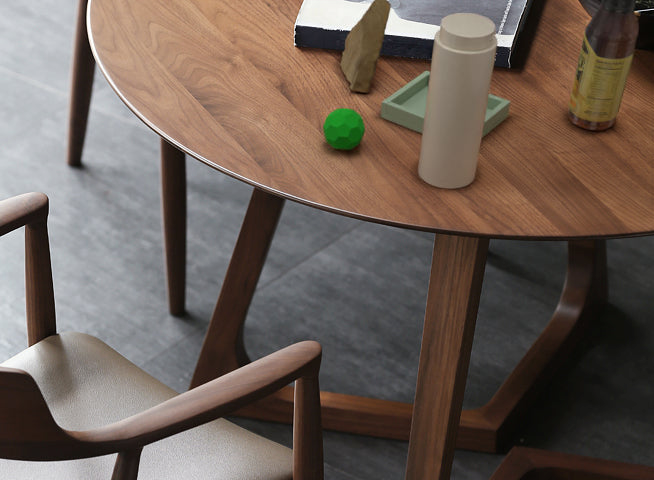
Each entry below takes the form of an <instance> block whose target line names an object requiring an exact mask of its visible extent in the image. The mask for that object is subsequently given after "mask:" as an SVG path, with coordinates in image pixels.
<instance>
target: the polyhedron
mask: <svg viewBox="0 0 654 480" xmlns="http://www.w3.org/2000/svg"><path fill="white" fill-rule="evenodd" d="M322 130H323V134H324V139H325V141H326V143H327V144H328V145H329V146H331V147H332V148H333V149H336V150H342V151H343V150H344V151H350V150H352V149H354V148H355V147H357V146H359V144H360V143H361V142H362V140H363V137H364V135H365V131H366V128H365V122H364V120H363V118H362V115H361V114H359V113H358V112H357V111H356V110H355V109H353V108H346V107H345V108H344V107H340V108H336V109H335V110H333V111H331V112H330V113H328V115H327V116H326V118H325V121H324V123H323V126H322Z"/></svg>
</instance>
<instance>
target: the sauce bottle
mask: <svg viewBox="0 0 654 480" xmlns="http://www.w3.org/2000/svg"><path fill="white" fill-rule="evenodd" d="M636 2H637V0H601V3H600V5H599V7H598V8H597V10H596V12H595V13H594V14H593V16H592V17H591V19H590V21H589V23H588V24H587V25H586V27H585V29H584V33H583V39H582V42H581V45H580V46H581V47H580V51H579V55H578V62H577V65H576V69H575V74H574V78H573V82H572V87H571V92H570V96H569V101H568V118H569V121H570V122H571V123H572V124H573V125H575V126H577V127H579V128H582V129H584V130H588V131H597V132H598V131H605V130H607V129H609V128H610V127H612V126H613V125H615V123H616V121H617V117H618V114H619V113H620V108H621V105H622V100H623V97H624V93H625V89H626V85H627V82H628V78H629V74H630V71H631V70H630V69H631V66H632V63H633V58H634V54H635V50H636V43H637V39H638V36H639V29H640V28H639V21H638V18H637V15H636V13H635V10H634V9H635V7H636V5H637V3H636Z"/></svg>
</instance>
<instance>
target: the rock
mask: <svg viewBox="0 0 654 480" xmlns="http://www.w3.org/2000/svg"><path fill="white" fill-rule="evenodd" d="M391 9H392V4H391V3H390V2H389V1H388V0H373V1H372V2H371V4H370V5H369V7H368V8H367V10H366V11H365V12H364V13H363V15H362V17H361V18H360V19H359V20H358V21H357V23H356V24H355V25H354V26H353V27H352V28H351V29H350V31H349V33H348V34H347V36H346V38H345V42H344V50H343V51H342V52H341V55H342V57H341V60H340V63H339V66H340V67H341V71H342V72H343V74H344V76H345V77H346V80H347V81H348V82H349V83H350V85H349V89H350V90H351V91H352V92H358V93H365V94H367V93H369V92H370V89H371V86H372V82H373V81H374V77H375V74H376V70H377V65H378V62H379V58H380V54H381V50H382V47H383V43H384V38H385V35H386V34H385V33H386V29H387V24H388V21H389V18H390V12H391Z"/></svg>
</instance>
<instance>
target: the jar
mask: <svg viewBox="0 0 654 480" xmlns="http://www.w3.org/2000/svg"><path fill="white" fill-rule="evenodd" d="M496 30H497V29H496V24H495V23H494V21H492V20H491V19H490V18H488V17H486V16H484V15H481V14H478V13H474V12H473V13H472V12H455V13H452V14H451V13H450V14H448V15H446V16H444V17H442V19H441V21H440V28H439V29H438V30H437V31H436V32H435V34H434V36H433V37H434V38H433V45H432V51H431V52H432V53H431V59H430V60H431V62H430V70H429V72H430V76H429V84H428V92H427V100H426V108H425V116H424V124H423V132H422V133H421V140H420V142H421V143H420V149H419V157H418V165H417V173H418V176H419V178H420V179H421V180H422V181H423V182H425V183H427V184H428V185H429V186H433V187H436V188H440V189H447V190H449V189H450V190H453V189H461V188H465V187H467V186H469V185H470V184H472V183H473V182H474V181H475V178H476V174H477V169H478V168H477V167H478V162H479V158H480V157H479V156H480V151H481V150H480V149H481V144H482V139H483V138H482V133H483V127H484V121H485V115H486V109H487V103H488V97H489V94H490V90H491V84H492V80H493V73H494V66H495V61H496V56H497V50H498V43H499V41H498V38H497V36H496V35H497V32H496Z"/></svg>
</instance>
